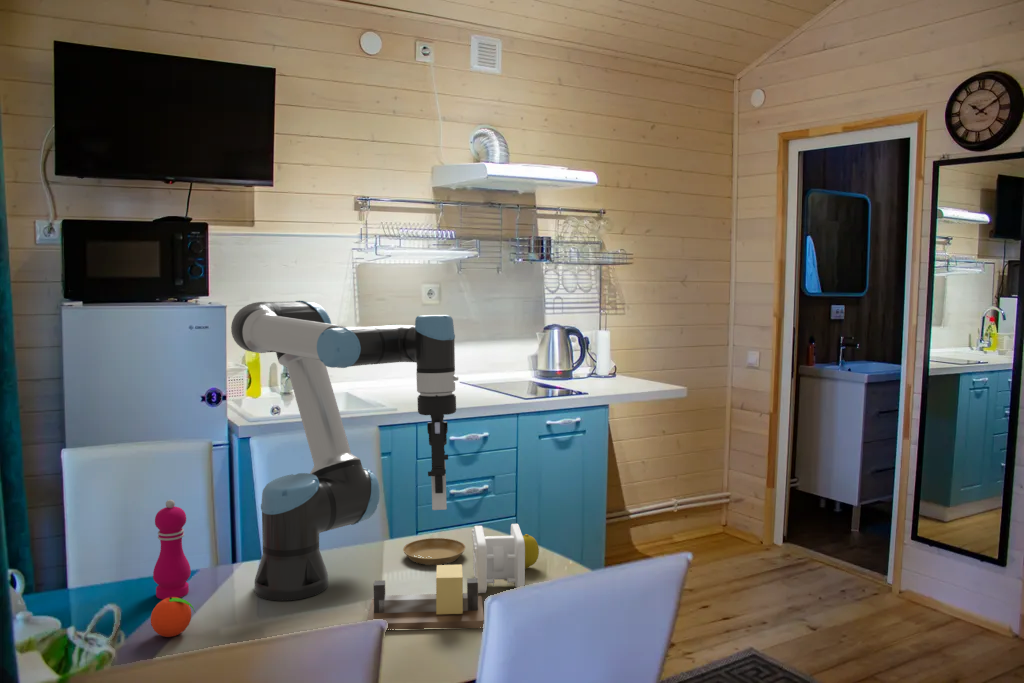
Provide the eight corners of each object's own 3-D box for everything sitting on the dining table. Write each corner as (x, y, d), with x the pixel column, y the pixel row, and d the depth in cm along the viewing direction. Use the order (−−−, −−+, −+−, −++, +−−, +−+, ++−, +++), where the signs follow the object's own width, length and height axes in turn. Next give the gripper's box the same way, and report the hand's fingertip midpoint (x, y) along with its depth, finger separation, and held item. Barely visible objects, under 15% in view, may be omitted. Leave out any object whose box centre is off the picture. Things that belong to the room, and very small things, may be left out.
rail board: (366, 631, 148) (365, 595, 148) (372, 605, 160) (371, 571, 160) (484, 628, 150) (484, 592, 150) (481, 602, 162) (481, 569, 162)
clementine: (203, 627, 150) (203, 590, 149) (187, 644, 143) (186, 605, 143) (162, 626, 150) (161, 589, 150) (143, 643, 143) (142, 604, 143)
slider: (436, 614, 152) (436, 578, 151) (436, 599, 159) (436, 565, 158) (462, 613, 152) (462, 577, 152) (461, 599, 159) (462, 564, 159)
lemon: (543, 567, 183) (543, 533, 182) (530, 574, 178) (530, 539, 178) (522, 562, 186) (522, 528, 185) (509, 569, 181) (509, 535, 181)
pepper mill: (147, 594, 166) (145, 499, 164) (181, 584, 171) (179, 493, 170) (162, 603, 161) (160, 506, 159) (197, 593, 166) (195, 499, 165)
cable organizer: (525, 597, 165) (526, 542, 165) (475, 599, 164) (475, 543, 163) (518, 571, 180) (518, 521, 179) (471, 573, 179) (471, 522, 178)
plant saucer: (427, 574, 179) (427, 562, 179) (390, 557, 190) (390, 546, 189) (478, 559, 189) (478, 548, 189) (440, 544, 200) (440, 533, 199)
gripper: (457, 400, 144) (460, 516, 145) (454, 386, 169) (457, 485, 170) (415, 401, 143) (418, 518, 144) (419, 387, 168) (421, 487, 169)
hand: (439, 500), depth 157 cm, fingers open, 13 cm apart
